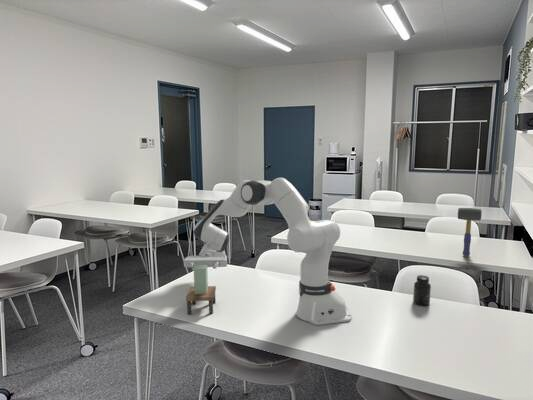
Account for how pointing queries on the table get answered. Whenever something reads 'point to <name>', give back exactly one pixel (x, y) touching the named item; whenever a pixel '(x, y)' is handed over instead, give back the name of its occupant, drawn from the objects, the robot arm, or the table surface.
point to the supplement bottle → (422, 291)
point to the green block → (200, 279)
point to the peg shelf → (201, 298)
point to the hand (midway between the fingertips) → (203, 267)
